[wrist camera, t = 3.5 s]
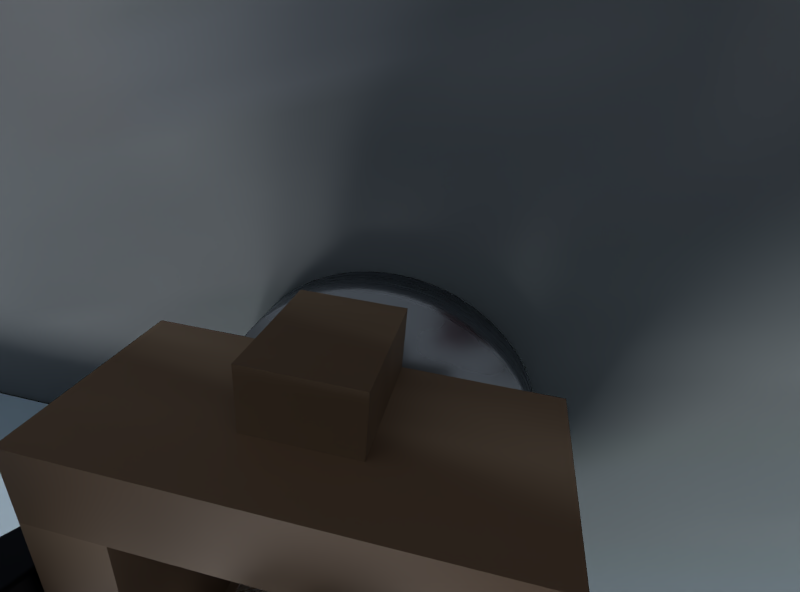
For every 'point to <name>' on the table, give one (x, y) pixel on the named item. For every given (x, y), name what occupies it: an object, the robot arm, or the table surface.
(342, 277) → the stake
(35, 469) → the ring
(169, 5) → the table surface
